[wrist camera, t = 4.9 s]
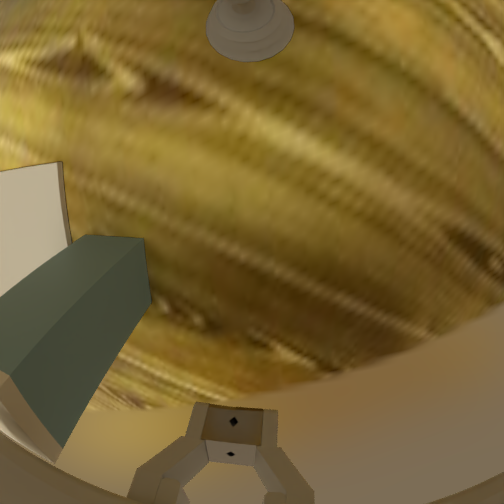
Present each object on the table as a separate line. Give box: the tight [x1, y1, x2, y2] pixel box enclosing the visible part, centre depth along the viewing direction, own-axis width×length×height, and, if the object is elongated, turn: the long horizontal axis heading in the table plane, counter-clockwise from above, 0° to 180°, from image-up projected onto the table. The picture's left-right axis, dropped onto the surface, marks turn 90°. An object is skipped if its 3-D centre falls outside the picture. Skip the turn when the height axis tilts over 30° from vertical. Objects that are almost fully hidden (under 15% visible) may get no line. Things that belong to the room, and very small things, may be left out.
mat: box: [0, 162, 72, 297], centre depth 20 cm, size 20×16×1 cm
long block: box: [0, 235, 152, 464], centre depth 13 cm, size 5×5×14 cm
